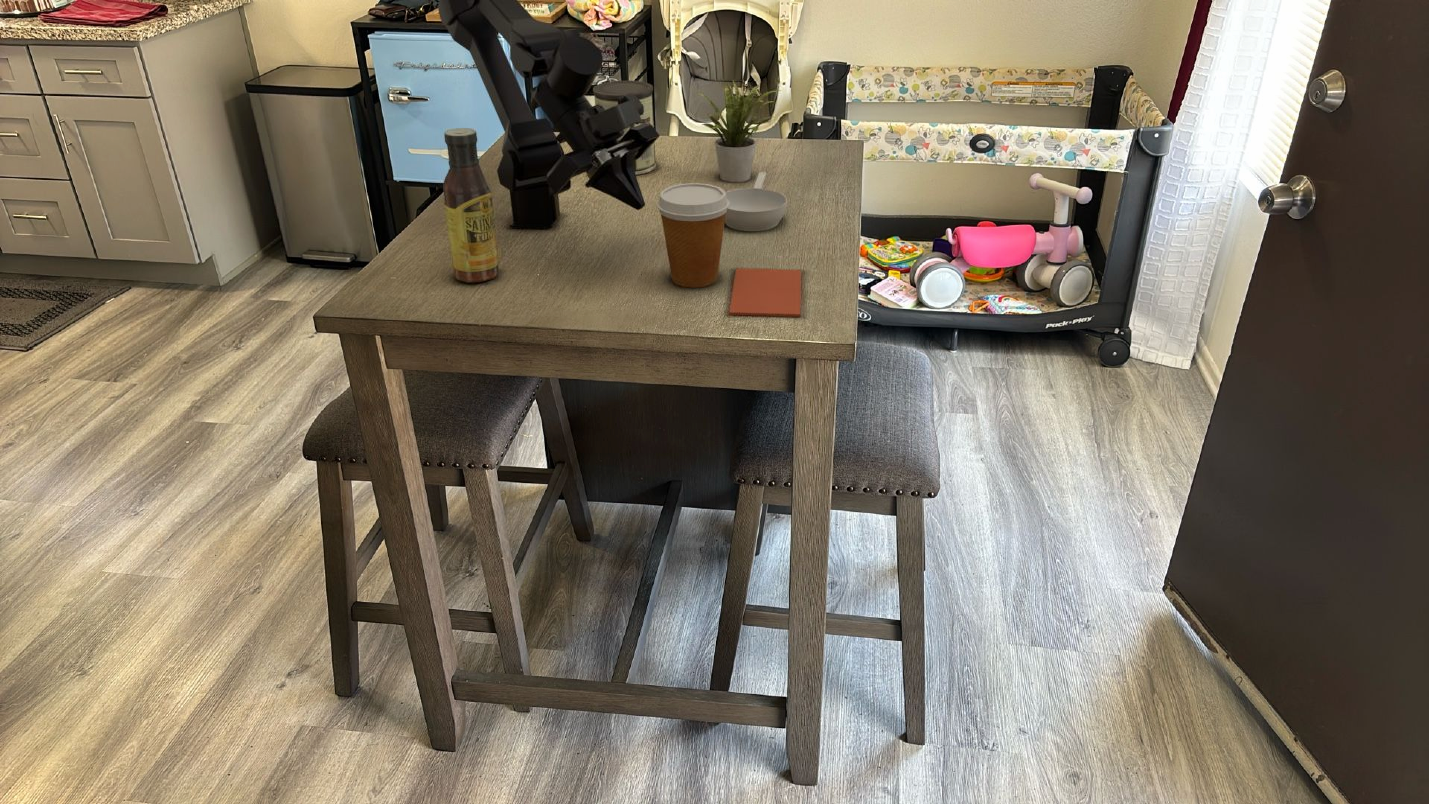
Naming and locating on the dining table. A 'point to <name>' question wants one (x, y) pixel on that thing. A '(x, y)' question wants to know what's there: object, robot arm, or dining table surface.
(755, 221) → the saucepan
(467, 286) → the dining table surface
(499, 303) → the dining table surface
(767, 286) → the mat
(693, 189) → the disposable coffee cup
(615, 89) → the coffee can
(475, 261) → the sauce bottle
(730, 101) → the house plant
